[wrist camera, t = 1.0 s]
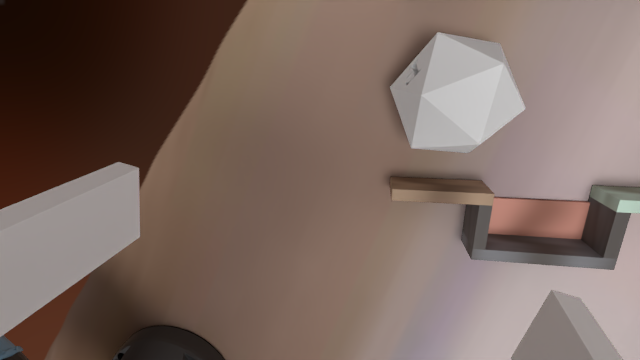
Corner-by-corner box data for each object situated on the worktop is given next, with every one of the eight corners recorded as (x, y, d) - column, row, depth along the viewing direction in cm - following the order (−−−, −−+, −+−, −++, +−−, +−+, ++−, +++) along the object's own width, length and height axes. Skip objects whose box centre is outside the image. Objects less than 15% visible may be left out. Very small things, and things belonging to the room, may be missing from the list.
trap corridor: (386, 235, 34) (388, 256, 30) (408, -95, 25) (414, -124, 22) (702, 256, 30) (749, 283, 26) (849, -124, 22) (949, -165, 18)
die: (487, 22, 28) (427, -6, 21) (564, 102, 25) (524, 98, 18) (416, 96, 33) (350, 92, 26) (472, 169, 30) (415, 185, 23)
